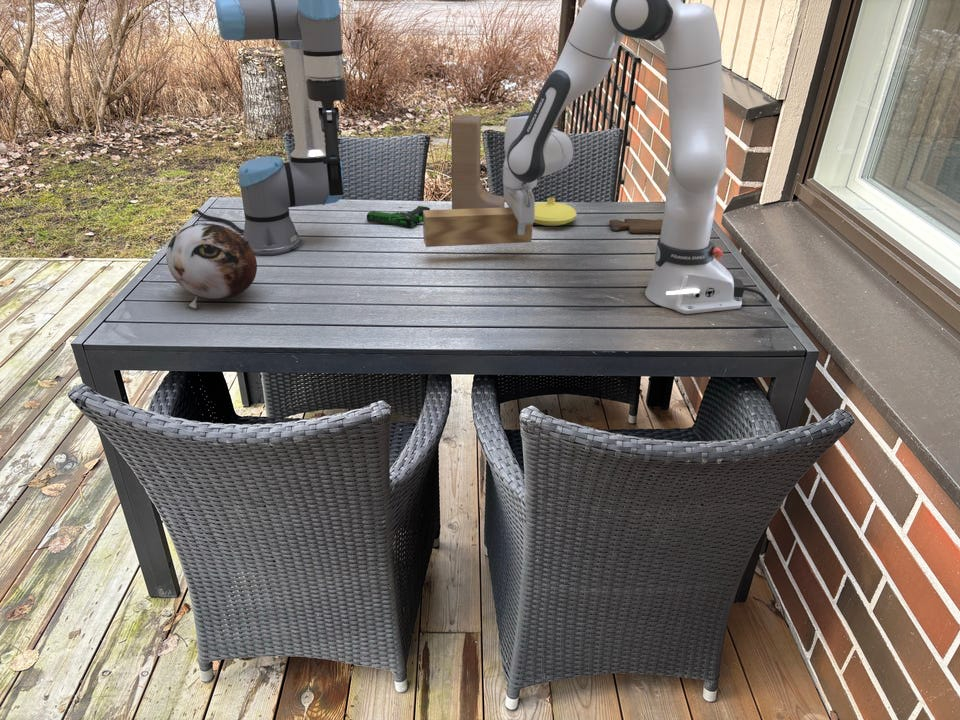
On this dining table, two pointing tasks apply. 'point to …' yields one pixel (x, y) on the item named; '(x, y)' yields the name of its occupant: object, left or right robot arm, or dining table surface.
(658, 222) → the dark wooden board
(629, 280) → the dining table surface
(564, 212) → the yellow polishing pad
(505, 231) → the bar
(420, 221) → the handgun
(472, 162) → the decorative block
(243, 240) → the cat face balloon
